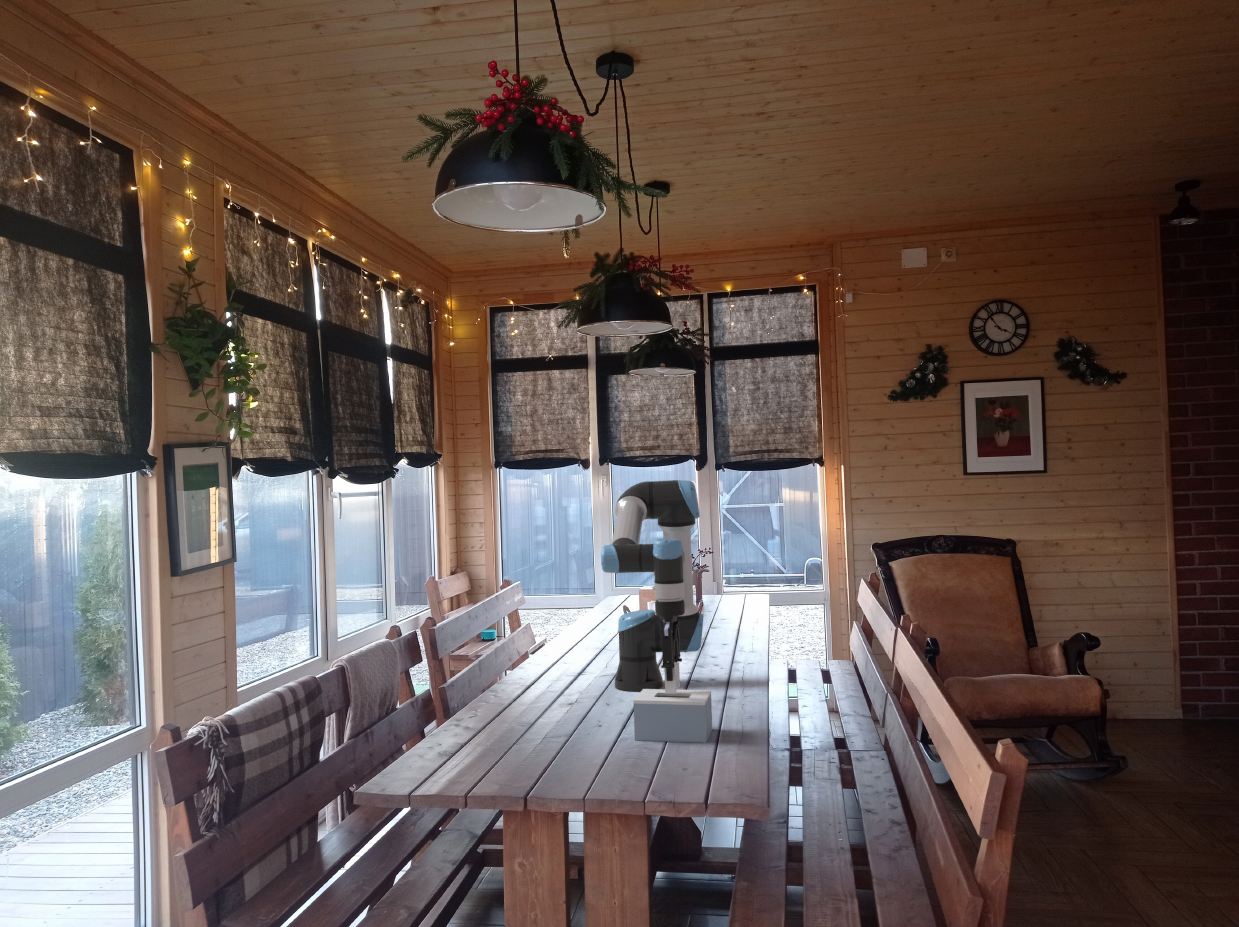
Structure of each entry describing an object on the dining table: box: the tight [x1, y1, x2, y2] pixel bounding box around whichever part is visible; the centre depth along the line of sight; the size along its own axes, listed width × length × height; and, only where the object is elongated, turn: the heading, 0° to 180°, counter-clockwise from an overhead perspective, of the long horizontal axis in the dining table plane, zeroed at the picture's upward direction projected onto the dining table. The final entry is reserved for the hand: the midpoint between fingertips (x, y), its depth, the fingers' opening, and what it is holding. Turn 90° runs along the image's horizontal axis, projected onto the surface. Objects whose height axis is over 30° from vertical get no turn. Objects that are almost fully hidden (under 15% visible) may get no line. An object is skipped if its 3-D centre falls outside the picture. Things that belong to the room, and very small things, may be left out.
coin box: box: [632, 688, 713, 744], centre depth 234 cm, size 12×18×10 cm, turn 77°
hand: (672, 690), depth 234 cm, fingers open, 5 cm apart
